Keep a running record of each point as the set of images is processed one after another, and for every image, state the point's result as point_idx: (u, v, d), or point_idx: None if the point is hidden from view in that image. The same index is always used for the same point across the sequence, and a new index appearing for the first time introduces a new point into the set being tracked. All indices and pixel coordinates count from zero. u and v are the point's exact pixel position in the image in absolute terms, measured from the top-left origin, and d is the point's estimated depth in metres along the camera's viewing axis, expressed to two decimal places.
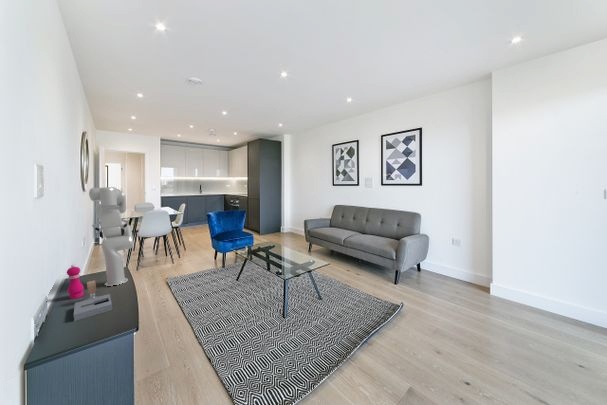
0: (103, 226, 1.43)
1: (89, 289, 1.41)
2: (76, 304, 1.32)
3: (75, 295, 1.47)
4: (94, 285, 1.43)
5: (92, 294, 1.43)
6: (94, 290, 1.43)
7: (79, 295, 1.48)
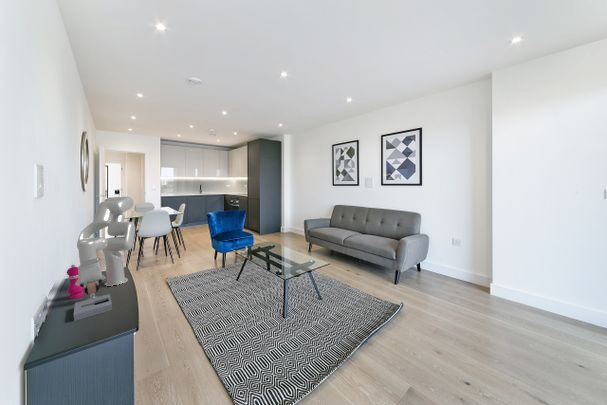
0: (82, 281, 1.39)
1: (89, 289, 1.41)
2: (76, 304, 1.32)
3: (75, 295, 1.47)
4: (94, 285, 1.43)
5: (92, 294, 1.43)
6: (94, 290, 1.43)
7: (79, 295, 1.48)
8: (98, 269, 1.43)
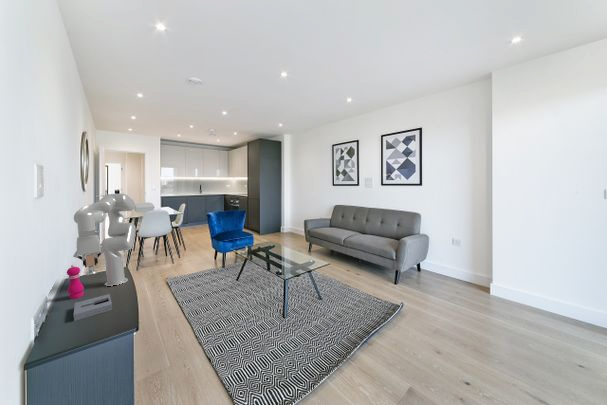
0: (80, 253, 1.35)
1: (87, 262, 1.37)
2: (76, 304, 1.32)
3: (75, 295, 1.47)
4: (92, 258, 1.39)
5: (90, 267, 1.39)
6: (92, 263, 1.39)
7: (79, 295, 1.48)
8: (97, 241, 1.39)
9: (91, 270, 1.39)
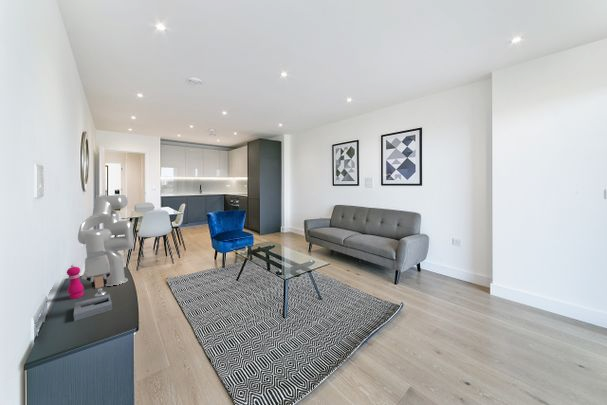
0: (88, 275, 1.30)
1: (96, 283, 1.32)
2: (76, 304, 1.32)
3: (75, 295, 1.47)
4: (101, 279, 1.33)
5: (99, 289, 1.34)
6: (101, 284, 1.33)
7: (79, 295, 1.48)
8: (106, 262, 1.34)
9: (100, 291, 1.34)
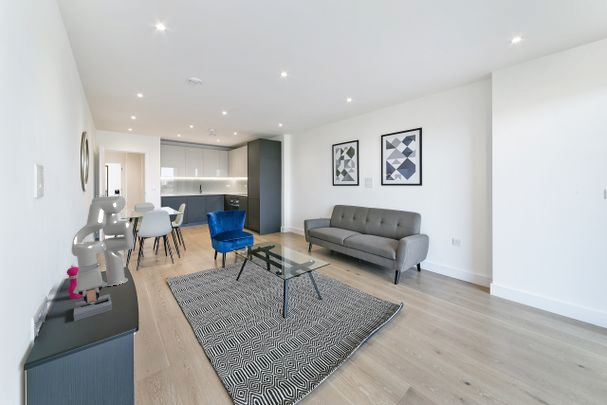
0: (80, 289, 1.28)
1: (88, 297, 1.30)
2: (76, 304, 1.32)
3: (75, 295, 1.47)
4: (94, 293, 1.32)
5: (92, 302, 1.32)
6: (94, 298, 1.32)
7: (79, 295, 1.48)
8: (98, 275, 1.32)
9: None
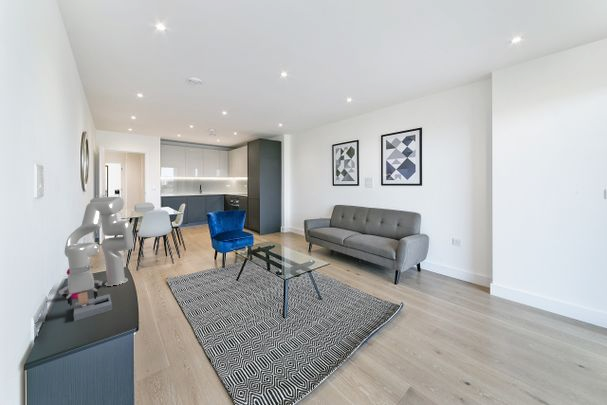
0: (71, 292, 1.26)
1: (80, 300, 1.28)
2: (76, 304, 1.32)
3: (75, 295, 1.47)
4: (86, 295, 1.30)
5: (83, 305, 1.30)
6: (86, 301, 1.30)
7: None
8: (90, 278, 1.30)
9: None
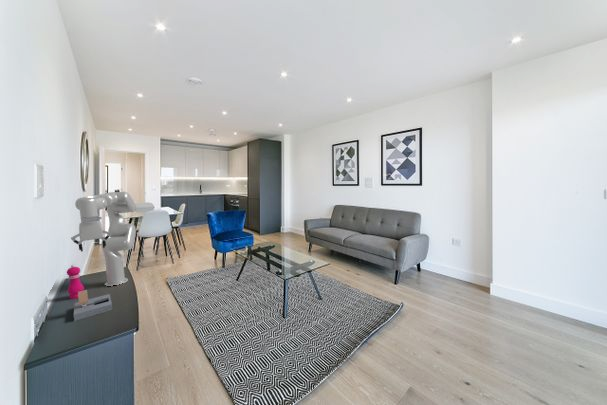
0: (82, 239, 1.37)
1: (80, 300, 1.28)
2: (76, 304, 1.32)
3: (75, 295, 1.47)
4: (86, 295, 1.29)
5: (83, 305, 1.30)
6: (86, 301, 1.30)
7: None
8: (99, 227, 1.41)
9: None
